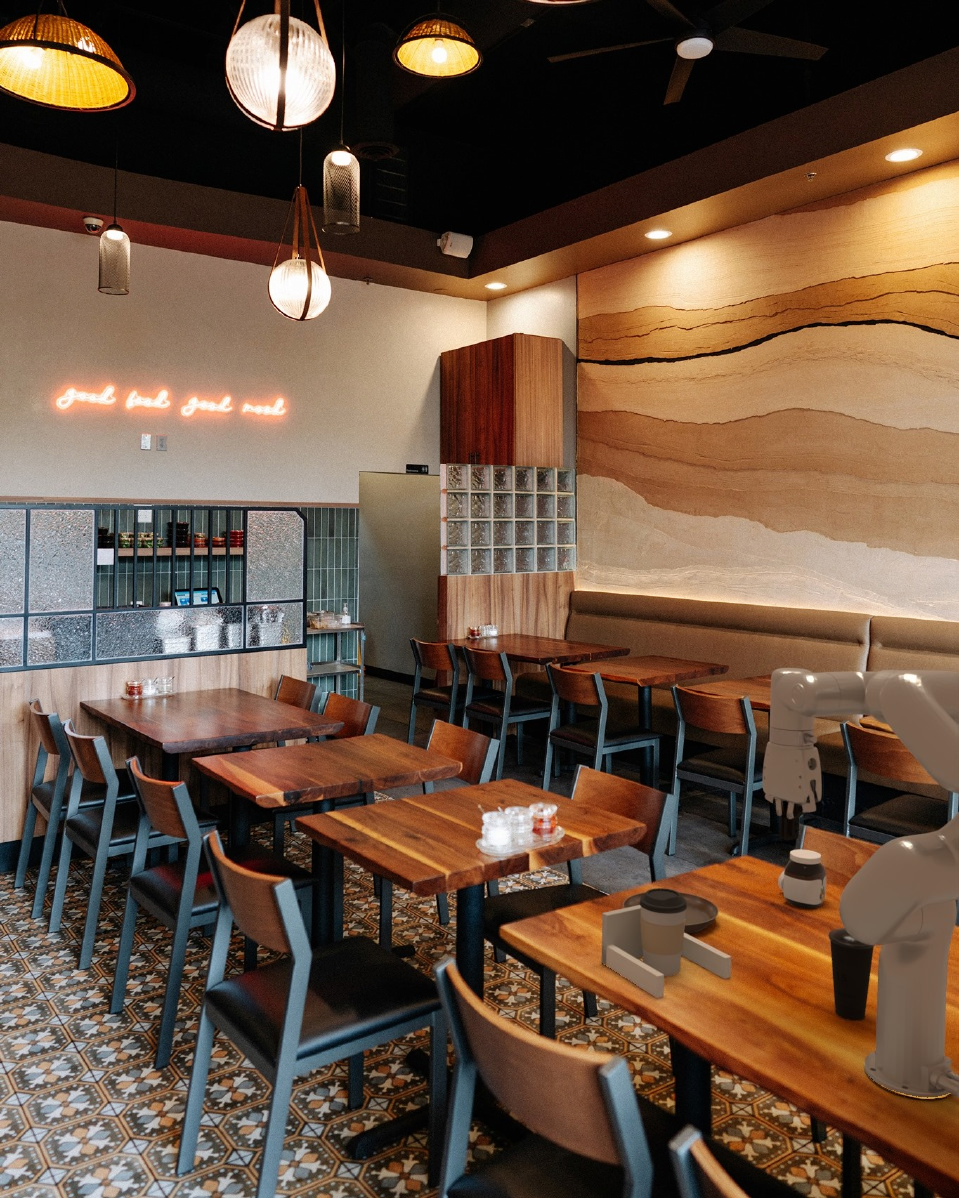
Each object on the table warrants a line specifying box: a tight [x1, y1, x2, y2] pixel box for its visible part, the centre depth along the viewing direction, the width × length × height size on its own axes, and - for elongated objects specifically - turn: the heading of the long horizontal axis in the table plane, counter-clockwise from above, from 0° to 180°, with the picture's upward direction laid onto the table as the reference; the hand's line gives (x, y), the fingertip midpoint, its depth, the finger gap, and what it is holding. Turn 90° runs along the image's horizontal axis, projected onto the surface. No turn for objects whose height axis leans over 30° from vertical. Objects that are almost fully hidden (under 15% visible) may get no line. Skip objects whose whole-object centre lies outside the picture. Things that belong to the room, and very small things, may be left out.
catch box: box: [601, 905, 732, 999], centre depth 179 cm, size 16×18×10 cm
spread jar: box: [777, 849, 827, 910], centre depth 217 cm, size 12×11×12 cm
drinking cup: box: [828, 927, 876, 1022], centre depth 162 cm, size 8×8×20 cm
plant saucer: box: [622, 891, 720, 935], centre depth 205 cm, size 21×21×3 cm
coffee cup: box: [639, 887, 687, 977], centre depth 180 cm, size 9×9×15 cm
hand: (788, 838), depth 167 cm, fingers closed
